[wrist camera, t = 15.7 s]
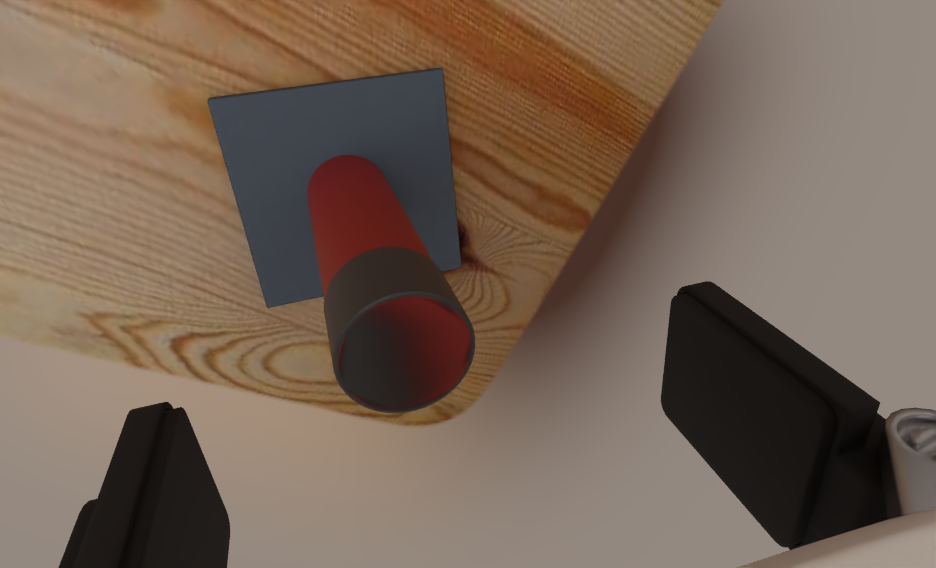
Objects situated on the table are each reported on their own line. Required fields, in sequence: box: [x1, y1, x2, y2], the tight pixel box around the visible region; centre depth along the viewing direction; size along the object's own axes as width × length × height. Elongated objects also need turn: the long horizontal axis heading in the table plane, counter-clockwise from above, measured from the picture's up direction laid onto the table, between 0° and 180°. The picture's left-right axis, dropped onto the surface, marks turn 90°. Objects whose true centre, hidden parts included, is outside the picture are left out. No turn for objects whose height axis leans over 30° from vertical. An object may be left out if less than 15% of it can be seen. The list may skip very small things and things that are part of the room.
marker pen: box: [307, 155, 475, 413], centre depth 17 cm, size 3×3×11 cm
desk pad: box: [208, 68, 461, 308], centre depth 22 cm, size 8×8×1 cm
